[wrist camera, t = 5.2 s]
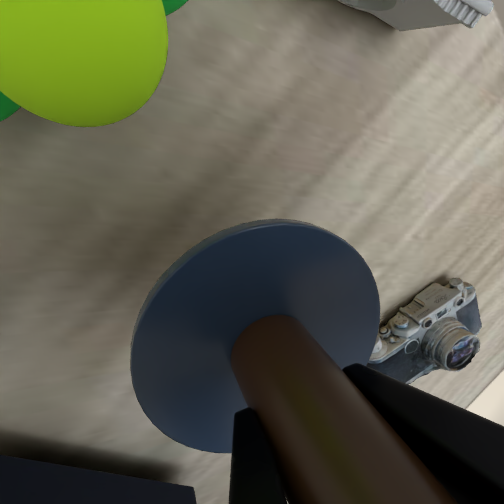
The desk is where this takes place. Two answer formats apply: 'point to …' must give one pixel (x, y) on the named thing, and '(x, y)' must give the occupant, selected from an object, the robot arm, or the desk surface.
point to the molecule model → (81, 57)
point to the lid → (276, 361)
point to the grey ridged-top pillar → (424, 12)
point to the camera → (430, 333)
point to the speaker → (81, 486)
